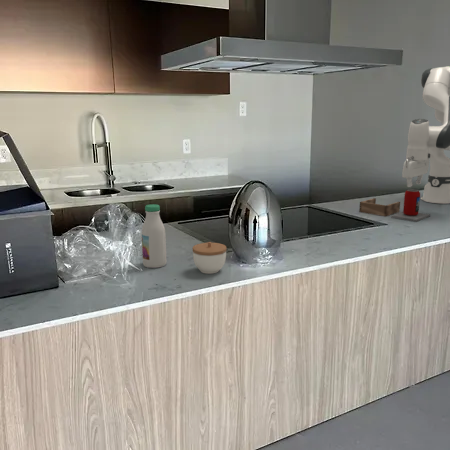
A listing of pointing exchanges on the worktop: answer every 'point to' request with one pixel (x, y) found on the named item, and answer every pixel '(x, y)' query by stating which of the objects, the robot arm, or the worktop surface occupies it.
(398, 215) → the rubber mat
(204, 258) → the lidded jar
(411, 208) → the beverage can
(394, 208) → the wooden tray
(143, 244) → the milk bottle
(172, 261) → the worktop surface
